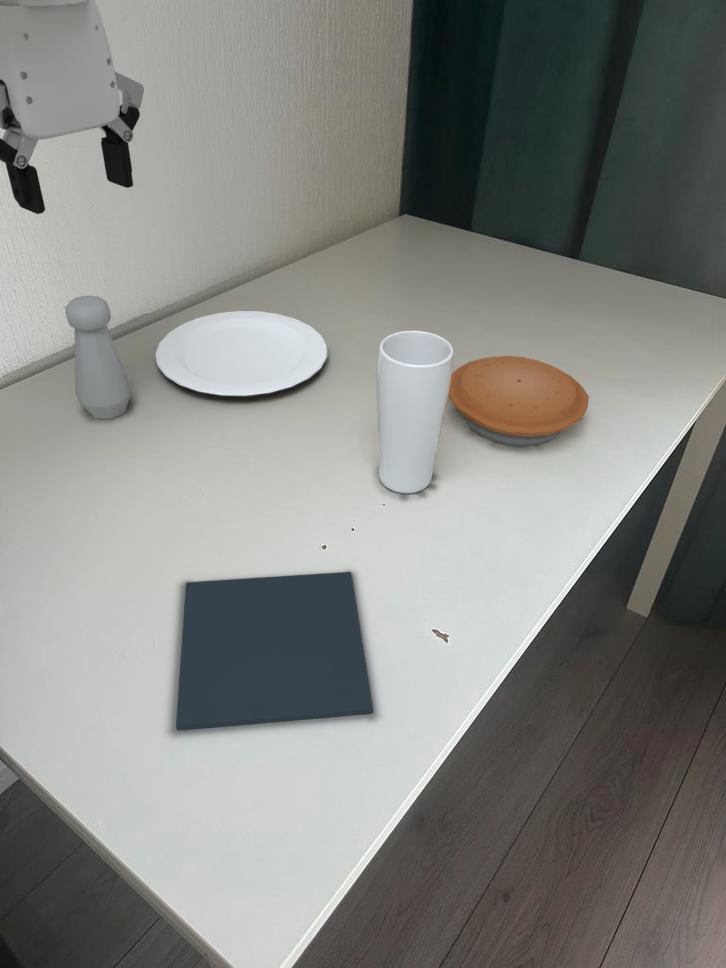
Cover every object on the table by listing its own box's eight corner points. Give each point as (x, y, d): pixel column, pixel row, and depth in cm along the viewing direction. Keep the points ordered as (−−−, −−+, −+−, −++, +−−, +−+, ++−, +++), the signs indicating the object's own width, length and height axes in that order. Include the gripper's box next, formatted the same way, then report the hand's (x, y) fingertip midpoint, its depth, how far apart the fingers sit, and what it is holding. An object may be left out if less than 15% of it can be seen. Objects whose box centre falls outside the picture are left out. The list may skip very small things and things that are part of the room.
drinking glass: (357, 479, 78) (362, 346, 68) (401, 451, 82) (411, 322, 72) (408, 510, 74) (421, 375, 65) (451, 479, 78) (470, 348, 69)
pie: (463, 371, 95) (468, 335, 92) (590, 400, 91) (600, 363, 88) (426, 438, 84) (430, 399, 81) (569, 474, 80) (579, 434, 77)
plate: (180, 421, 84) (178, 408, 83) (140, 336, 99) (138, 324, 98) (354, 386, 92) (354, 373, 90) (293, 311, 106) (293, 299, 105)
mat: (176, 730, 55) (175, 725, 54) (186, 587, 65) (185, 582, 65) (372, 713, 56) (372, 708, 56) (350, 576, 67) (350, 571, 67)
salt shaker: (126, 425, 84) (106, 315, 75) (73, 423, 84) (47, 313, 75) (139, 396, 88) (121, 290, 80) (89, 394, 88) (66, 287, 80)
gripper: (97, -33, 68) (127, 167, 79) (-96, -20, 58) (-31, 210, 68) (153, -24, 65) (176, 184, 76) (-41, -8, 54) (18, 232, 65)
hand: (78, 196), depth 72 cm, fingers open, 9 cm apart
